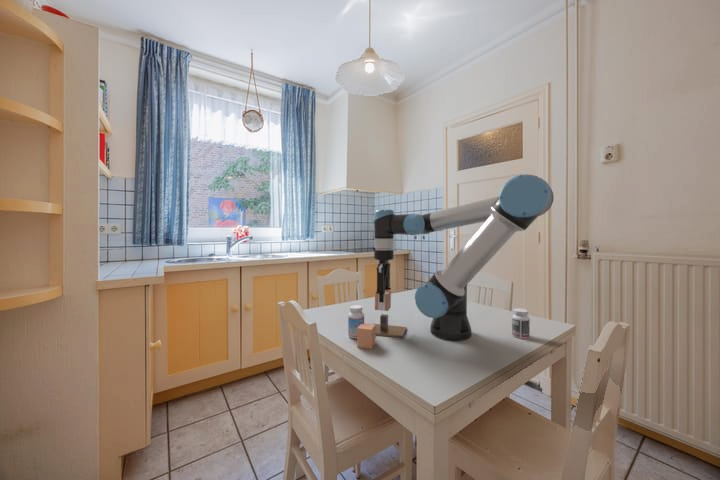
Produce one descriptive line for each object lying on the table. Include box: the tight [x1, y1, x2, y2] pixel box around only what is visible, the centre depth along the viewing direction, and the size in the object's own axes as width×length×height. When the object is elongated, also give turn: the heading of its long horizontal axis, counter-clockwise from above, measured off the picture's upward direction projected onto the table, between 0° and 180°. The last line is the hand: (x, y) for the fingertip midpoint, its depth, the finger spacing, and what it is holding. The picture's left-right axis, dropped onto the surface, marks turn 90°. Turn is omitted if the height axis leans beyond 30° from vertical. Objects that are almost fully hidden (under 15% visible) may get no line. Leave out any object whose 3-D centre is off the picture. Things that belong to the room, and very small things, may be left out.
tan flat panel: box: [372, 313, 407, 339], centre depth 114 cm, size 14×10×6 cm
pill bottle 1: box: [347, 304, 365, 340], centre depth 109 cm, size 6×6×11 cm
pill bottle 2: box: [511, 307, 531, 340], centre depth 107 cm, size 6×6×10 cm
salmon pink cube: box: [374, 290, 392, 312], centre depth 114 cm, size 5×5×7 cm
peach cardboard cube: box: [356, 323, 377, 350], centre depth 100 cm, size 5×5×7 cm
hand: (383, 307), depth 114 cm, fingers closed on salmon pink cube, 5 cm apart
